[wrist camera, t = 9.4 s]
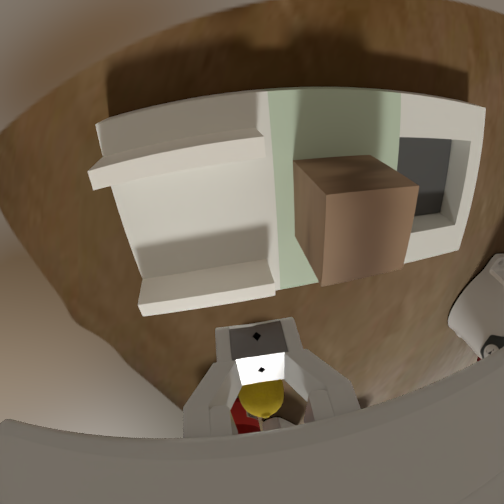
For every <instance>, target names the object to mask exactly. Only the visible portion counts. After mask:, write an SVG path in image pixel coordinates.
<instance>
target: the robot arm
mask: <svg viewBox="0 0 504 504" xmlns="http://www.w3.org/2000/svg"><path fill="white" fill-rule="evenodd" d="M448 326H449V327H450V328H451V329H452V330H454V331H455V332H456V335H457V336H458V337H461V338H462V339H463V340H464V341H465V342H466V343H467V344H468V345H469V346H470V347H471V349H472V350H473V351H474V352H475V353H476V354H477V355H478V357H479V358H481V360H480V361H478V362H476V363H474V364H472V365H470V366H468V367H466V368H464V369H462V370H460V371H458V372H456V373H454V374H452V375H450V376H448V377H445V378H443V379H441V380H439V381H436V382H434V383H432V384H430V385H427V386H425V387H422V388H420V389H417V390H415V391H412V392H410V393H407V394H405V395H402V396H399V397H397V398H394V399H391V400H388V401H385V402H382V403H379V404H376V405H373V406H370V407H367V408H363V409H361V408H360V405H359V402H358V400H357V397H356V394H355V392H354V389H353V386H352V384H351V381H350V380H348V379H347V378H345V377H344V376H343V375H341V374H340V373H339V372H337V371H336V370H335V369H333V368H332V367H331V366H329V365H328V364H327V363H325V362H324V361H323V360H321V359H320V358H319V357H317V356H316V355H315V354H313V353H312V352H311V351H309V350H308V349H303V347H302V343H301V340H300V337H299V334H298V331H297V327H296V324H295V321H294V318H293V317H289V318H283V319H280V320H279V319H276V320H270V321H264V322H258V323H254V324H246V325H237V326H229V327H220V328H216V330H215V336H216V355H217V363H213V364H212V366H211V367H210V369H209V370H208V372H207V373H206V375H205V376H204V378H203V379H202V381H201V382H200V384H199V385H198V387H197V388H196V389H195V391H194V392H193V394H192V395H191V397H190V398H189V400H188V401H187V403H186V404H185V406H184V407H183V432H184V433H183V438H168V439H167V438H164V439H163V438H162V439H161V438H155V439H154V438H128V437H112V436H102V435H92V434H84V433H76V432H70V431H63V430H57V429H52V428H47V427H42V426H37V425H32V424H28V423H24V422H20V421H16V420H12V419H5V420H4V421H2V422H1V423H0V504H504V254H495V255H494V256H493V257H492V258H491V260H490V261H489V262H488V264H487V265H486V267H485V268H484V269H483V270H482V272H481V273H480V274H478V275H477V276H476V277H475V278H474V279H473V280H472V281H471V283H470V284H469V285H468V286H467V287H466V288H465V290H464V291H463V292H462V294H461V295H460V296H459V298H458V299H457V301H456V302H455V304H454V306H453V308H452V310H451V312H450V315H449V318H448ZM279 379H284V380H285V381H286V382H287V383H288V384H289V385H290V386H291V387H292V388H293V389H294V390H295V391H296V392H297V393H299V394H300V395H301V396H302V397H303V398H304V399H305V400H306V401H307V406H306V411H305V416H304V423H305V424H300V425H295V426H290V427H284V428H279V429H273V430H266V431H260V432H252V433H244V434H238V430H237V428H236V425H235V422H234V420H233V417H232V414H231V411H230V410H231V408H232V406H233V404H234V402H235V400H236V398H237V396H238V394H239V392H240V390H241V388H242V385H247V384H253V383H258V382H265V381H272V380H279Z"/></svg>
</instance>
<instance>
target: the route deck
mask: <svg viewBox="0 0 504 504" xmlns="http://www.w3.org/2000/svg"><path fill="white" fill-rule="evenodd" d="M485 111H486V108H484V107H481V106H478V105H475V104H472V103H468V102H465V101H461V100H456V99H451V98H445V97H440V96H434V95H428V94H421V93H414V92H406V91H397V90H386V89H374V88H357V87H288V88H271V89H258V90H247V91H238V92H229V93H222V94H214V95H208V96H201V97H195V98H190V99H184V100H179V101H174V102H169V103H164V104H159V105H155V106H151V107H146V108H142V109H138V110H134V111H130V112H127V113H123V114H119V115H116V116H112V117H109V118H107V119H105V120H103V121H101V122H99V123H97V124H95V125H96V129H97V134H98V138H99V142H100V147H101V151H102V155H103V157H102V158H101V159H100V160H99V161H98V162H97V163H96V164H95V165H94V166H93V167H92V168H91V169H90V170H88V174H89V178H90V181H91V184H92V188H93V190H96V189H100V188H104V187H108V186H111V188H112V191H113V195H114V198H115V201H116V204H117V208H118V211H119V214H120V217H121V220H122V223H123V226H124V229H125V232H126V235H127V238H128V241H129V244H130V246H131V249H132V252H133V255H134V257H135V260H136V263H137V265H138V268H139V271H140V273H141V276H142V278H143V281H142V285H141V290H140V295H139V301H138V307H139V309H140V311H141V313H142V315H143V316H150V315H157V314H164V313H171V312H178V311H185V310H192V309H198V308H205V307H211V306H217V305H224V304H230V303H236V302H241V301H247V300H253V299H259V298H264V297H270V296H275V290H281V289H286V288H291V287H296V286H302V285H307V284H312V283H317V282H319V281H318V279H317V277H316V275H315V273H314V272H313V270H312V268H311V266H310V264H309V262H308V260H307V258H306V256H305V254H304V252H303V250H302V249H301V247H300V245H299V243H298V241H297V239H296V237H295V219H294V182H293V160H302V159H313V158H325V157H339V156H356V155H371V156H373V157H375V158H376V159H378V160H380V161H381V162H383V163H385V164H386V165H388V166H390V167H391V168H393V169H394V170H396V171H397V172H399V173H401V174H402V175H404V176H405V177H407V178H408V179H410V180H411V181H413V182H414V183H416V184H417V185H419V191H418V197H417V203H416V209H415V214H414V219H413V224H412V229H411V234H410V239H409V243H408V248H407V252H406V256H405V260H404V263H408V262H412V261H417V260H421V259H425V258H429V257H433V256H437V255H441V254H445V253H449V252H453V251H456V250H459V247H460V244H461V240H462V237H463V234H464V230H465V227H466V223H467V219H468V215H469V211H470V207H471V203H472V199H473V194H474V190H475V185H476V180H477V175H478V169H479V163H480V157H481V150H482V142H483V134H484V124H485Z"/></svg>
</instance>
